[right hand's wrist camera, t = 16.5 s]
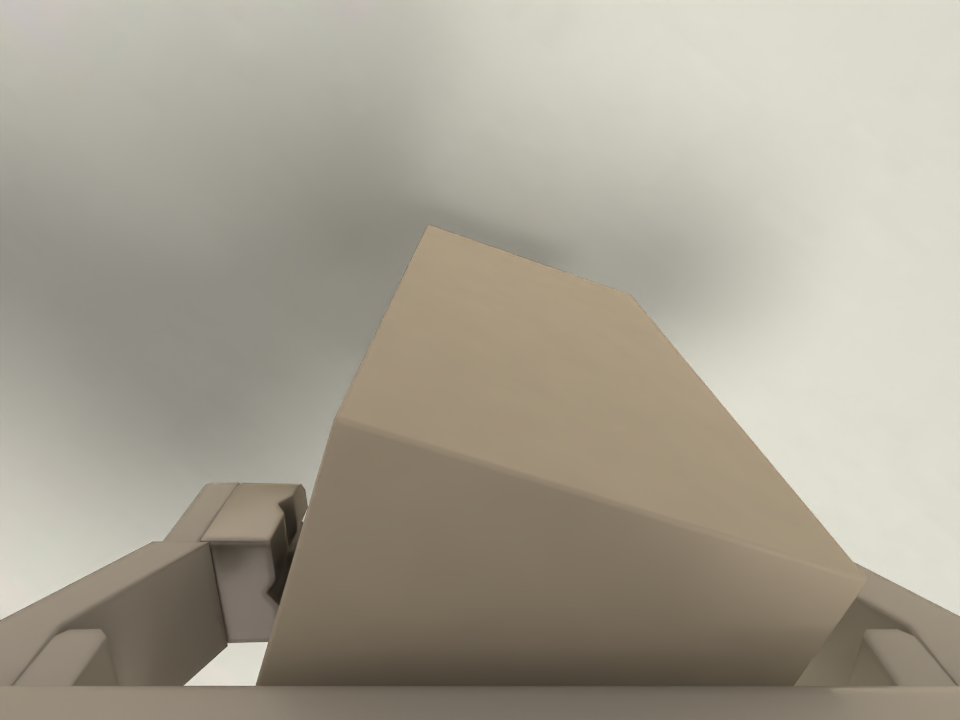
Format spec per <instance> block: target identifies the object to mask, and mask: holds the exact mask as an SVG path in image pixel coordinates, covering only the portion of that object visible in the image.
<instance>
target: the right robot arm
mask: <svg viewBox="0 0 960 720" xmlns="http://www.w3.org/2000/svg"><path fill="white" fill-rule="evenodd" d="M307 508H308V506H307V499H306V492H305V489H304V487H303V486H302V484H273V483H238V482H236V483H210V484H206V485H205V486H204V487H203V489H202V490H201V491H200V493H199V494H198V495H197V497H196V498H195V499H194V501H193V502H192V503H191V505H190V506H189V507H188V509H187V510H186V511H185V513H184V514H183V515H182V517H181V518H180V519H179V521H178V522H177V523H176V525H175V526H174V527H173V529H172V530H171V531H170V533H169V534H168V535H167V537H166V538H165V539H164V541H163V542H151V543H149V544H148V545H146V546H144V547H142V548H140V549H138V550H136V551H134V552H132V553H130V554H128V555H126V556H124V557H122V558H120V559H118V560H116V561H115V562H113V563H111V564H109V565H107V566H105V567H103V568H101V569H99V570H97V571H95V572H93V573H91V574H89V575H87V576H85V577H84V578H82V579H80V580H78V581H76V582H74V583H72V584H70V585H68V586H66V587H64V588H62V589H60V590H58V591H56V592H54V593H52V594H51V595H49V596H47V597H45V598H43V599H41V600H39V601H37V602H35V603H33V604H31V605H29V606H27V607H25V608H23V609H21V610H20V611H18V612H16V613H14V614H12V615H10V616H8V617H6V618H4V619H2V620H0V720H960V616H958V615H956V614H954V613H952V612H950V611H948V610H946V609H944V608H942V607H940V606H938V605H937V604H935V603H933V602H931V601H929V600H927V599H925V598H923V597H921V596H919V595H917V594H915V593H913V592H911V591H909V590H907V589H905V588H903V587H901V586H899V585H897V584H896V583H894V582H892V581H890V580H888V579H886V578H884V577H882V576H880V575H878V574H876V573H874V572H872V571H870V570H868V569H866V568H864V567H862V566H860V565H858V564H857V563H855V562H854V564H855V565H856V566H857V567H858V568H859V570H860V571H861V572H862V573H863V574H864V576H865V577H866V579H867V582H866V584H865V586H864V587H863V588H862V590H861V591H860V593H859V594H858V596H857V597H856V598H855V600H854V601H853V603H852V604H851V606H850V607H849V608H848V610H847V611H846V613H845V614H844V615H843V617H842V618H841V620H840V621H839V623H838V624H837V625H836V627H835V628H834V630H833V631H832V632H831V634H830V635H829V637H828V638H827V640H826V641H825V642H824V644H823V645H822V647H821V648H820V650H819V651H818V652H817V654H816V655H815V657H814V658H813V659H812V661H811V662H810V664H809V665H808V667H807V668H806V669H805V671H804V672H803V674H802V675H801V676H800V678H799V679H798V681H797V682H796V684H795V685H794V686H183V685H185V684H186V683H187V682H188V681H189V680H190V679H191V678H192V677H194V676H195V675H196V674H197V673H198V672H199V671H200V670H201V669H202V668H204V667H205V666H206V665H207V664H208V663H209V662H210V661H211V660H212V659H214V658H215V657H216V656H217V655H218V654H219V653H220V652H221V651H222V650H224V649H225V648H226V647H227V643H243V642H269V639H270V635H271V632H272V628H273V625H274V622H275V618H276V615H277V611H278V608H279V605H280V601H281V598H282V594H283V591H284V588H285V584H286V581H287V577H288V574H289V571H290V567H291V564H292V560H293V557H294V554H295V550H296V547H297V543H298V540H299V537H300V533H301V530H302V526H303V522H302V519H303V517H304V515H305V512H306V510H307Z"/></svg>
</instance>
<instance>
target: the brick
mask: <svg viewBox="0 0 960 720" xmlns="http://www.w3.org/2000/svg"><path fill="white" fill-rule="evenodd" d="M866 582H867V579H866V577H865V576H864V574H863V573H862V572H861V571H860V570H859V568H858V567H857V566H856V565H855V564H854V562H853V561H852V560H851V559H850V558H849V556H848V555H847V554H846V553H845V552H844V550H843V549H842V548H841V547H840V546H839V544H838V543H837V542H836V541H835V540H834V538H833V537H832V536H831V535H830V534H829V532H828V531H827V530H826V529H825V528H824V526H823V525H822V524H821V523H820V522H819V520H818V519H817V518H816V517H815V516H814V514H813V513H812V512H811V511H810V510H809V508H808V507H807V506H806V505H805V504H804V502H803V501H802V500H801V499H800V498H799V496H798V495H797V494H796V493H795V492H794V490H793V489H792V488H791V487H790V485H789V484H788V483H787V482H786V481H785V479H784V478H783V477H782V476H781V475H780V473H779V472H778V471H777V470H776V469H775V467H774V466H773V465H772V464H771V463H770V461H769V460H768V459H767V458H766V457H765V455H764V454H763V453H762V452H761V451H760V449H759V448H758V447H757V446H756V445H755V443H754V442H753V441H752V440H751V439H750V437H749V436H748V435H747V434H746V433H745V431H744V430H743V429H742V428H741V427H740V425H739V424H738V423H737V422H736V421H735V419H734V418H733V417H732V416H731V415H730V413H729V412H728V411H727V410H726V409H725V407H724V406H723V405H722V404H721V403H720V401H719V400H718V399H717V398H716V397H715V395H714V394H713V393H712V392H711V391H710V389H709V388H708V387H707V386H706V385H705V383H704V382H703V381H702V380H701V378H700V377H699V376H698V375H697V374H696V372H695V371H694V370H693V369H692V368H691V366H690V365H689V364H688V363H687V362H686V360H685V359H684V358H683V357H682V356H681V354H680V353H679V352H678V351H677V350H676V348H675V347H674V346H673V345H672V344H671V342H670V341H669V340H668V339H667V338H666V336H665V335H664V334H663V333H662V332H661V330H660V329H659V328H658V327H657V326H656V324H655V323H654V322H653V321H652V320H651V318H650V317H649V316H648V315H647V314H646V312H645V311H644V310H643V309H642V308H641V306H640V305H639V304H638V303H637V302H636V300H635V299H634V298H633V297H632V296H631V295H629V294H627V293H624V292H621V291H618V290H615V289H612V288H609V287H606V286H604V285H601V284H598V283H595V282H592V281H589V280H586V279H583V278H581V277H578V276H575V275H572V274H569V273H566V272H563V271H560V270H558V269H555V268H552V267H549V266H546V265H543V264H540V263H537V262H535V261H532V260H529V259H526V258H523V257H520V256H517V255H514V254H511V253H509V252H506V251H503V250H500V249H497V248H494V247H491V246H488V245H486V244H483V243H480V242H477V241H474V240H471V239H468V238H465V237H463V236H460V235H457V234H454V233H451V232H448V231H445V230H442V229H440V228H437V227H434V226H431V225H428V226H427V227H426V229H425V231H424V233H423V235H422V238H421V240H420V242H419V244H418V246H417V248H416V250H415V252H414V254H413V256H412V258H411V260H410V262H409V265H408V267H407V269H406V271H405V273H404V275H403V277H402V279H401V281H400V283H399V285H398V287H397V289H396V292H395V294H394V296H393V298H392V300H391V302H390V304H389V306H388V308H387V310H386V312H385V314H384V317H383V319H382V321H381V323H380V325H379V327H378V329H377V331H376V333H375V335H374V337H373V339H372V341H371V344H370V346H369V348H368V350H367V352H366V354H365V356H364V358H363V360H362V362H361V364H360V366H359V368H358V371H357V373H356V375H355V377H354V379H353V381H352V383H351V385H350V387H349V389H348V391H347V393H346V396H345V398H344V400H343V402H342V404H341V406H340V408H339V410H338V412H337V414H336V416H335V418H334V421H333V425H332V428H331V431H330V435H329V438H328V442H327V445H326V448H325V452H324V455H323V459H322V462H321V465H320V469H319V472H318V476H317V479H316V482H315V486H314V489H313V493H312V496H311V499H310V503H309V506H308V510H307V513H306V516H305V520H304V523H303V526H302V530H301V533H300V537H299V540H298V543H297V547H296V550H295V554H294V557H293V560H292V564H291V567H290V571H289V574H288V577H287V581H286V584H285V588H284V591H283V594H282V598H281V601H280V605H279V608H278V611H277V615H276V618H275V622H274V625H273V628H272V632H271V635H270V639H269V642H268V645H267V649H266V652H265V656H264V659H263V662H262V666H261V669H260V673H259V676H258V679H257V683H256V686H794V685H795V684H796V682H797V681H798V679H799V678H800V676H801V675H802V674H803V672H804V671H805V669H806V668H807V667H808V665H809V664H810V662H811V661H812V659H813V658H814V657H815V655H816V654H817V652H818V651H819V650H820V648H821V647H822V645H823V644H824V642H825V641H826V640H827V638H828V637H829V635H830V634H831V632H832V631H833V630H834V628H835V627H836V625H837V624H838V623H839V621H840V620H841V618H842V617H843V615H844V614H845V613H846V611H847V610H848V608H849V607H850V606H851V604H852V603H853V601H854V600H855V598H856V597H857V596H858V594H859V593H860V591H861V590H862V588H863V587H864V586H865V584H866Z"/></svg>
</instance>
